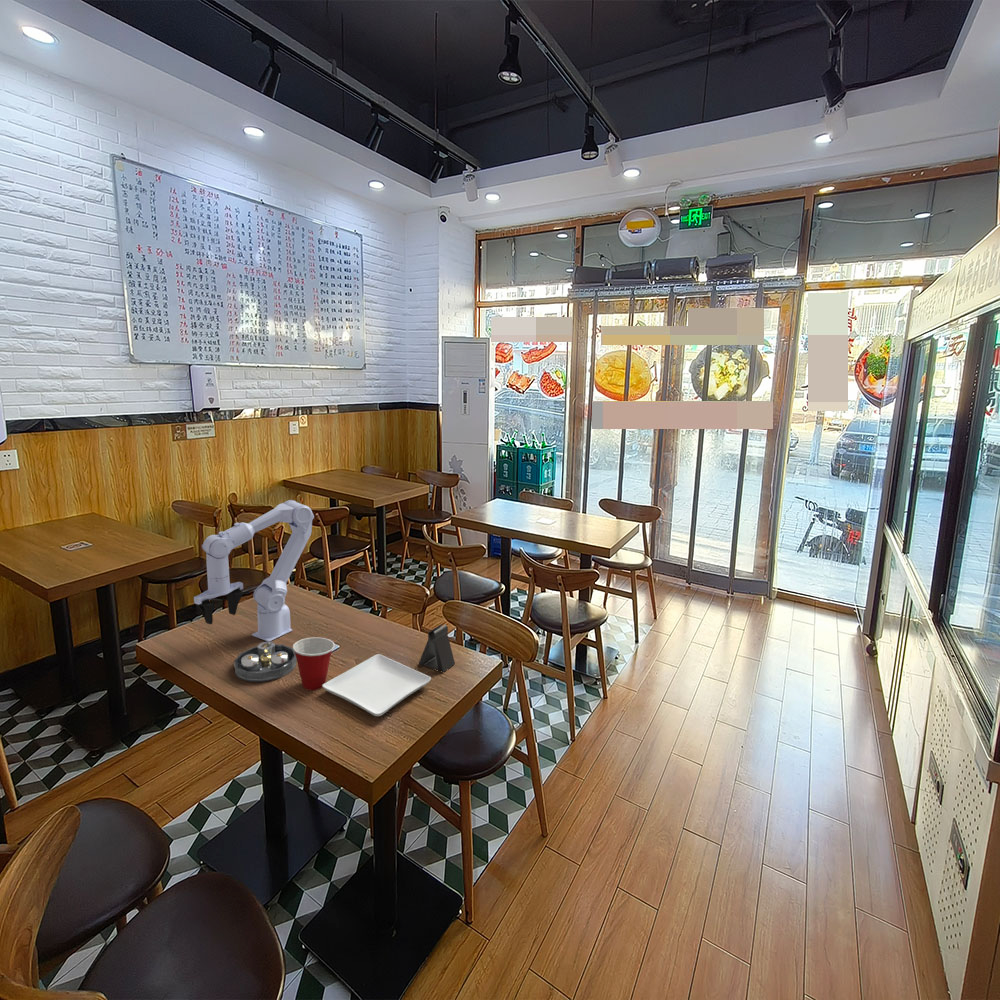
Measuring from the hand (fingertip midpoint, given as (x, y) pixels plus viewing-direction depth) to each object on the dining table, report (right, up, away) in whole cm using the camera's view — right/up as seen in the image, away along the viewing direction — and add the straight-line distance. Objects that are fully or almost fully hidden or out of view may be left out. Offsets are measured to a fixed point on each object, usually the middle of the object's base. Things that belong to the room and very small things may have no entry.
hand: (221, 618), depth 160 cm
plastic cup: (+33, -15, -13) cm, 38 cm away
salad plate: (+50, -17, -14) cm, 55 cm away
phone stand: (+65, -14, +1) cm, 66 cm away
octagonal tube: (+15, -11, -2) cm, 18 cm away
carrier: (+16, -13, -6) cm, 21 cm away
